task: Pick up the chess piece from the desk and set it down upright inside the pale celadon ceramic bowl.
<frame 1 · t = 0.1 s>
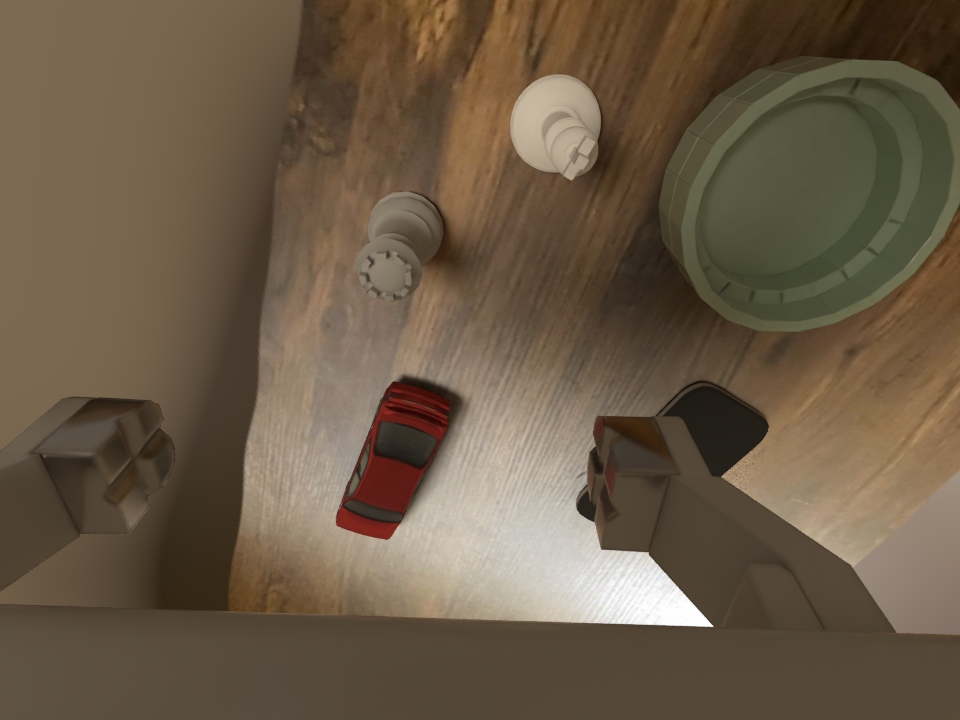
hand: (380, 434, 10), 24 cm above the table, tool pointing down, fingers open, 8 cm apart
rook chess piece: (407, 225, 33), on the table
chess piece: (554, 124, 30), on the table
bowl: (774, 189, 31), on the table
toy car: (393, 449, 42), on the table
smartphone: (664, 462, 42), on the table
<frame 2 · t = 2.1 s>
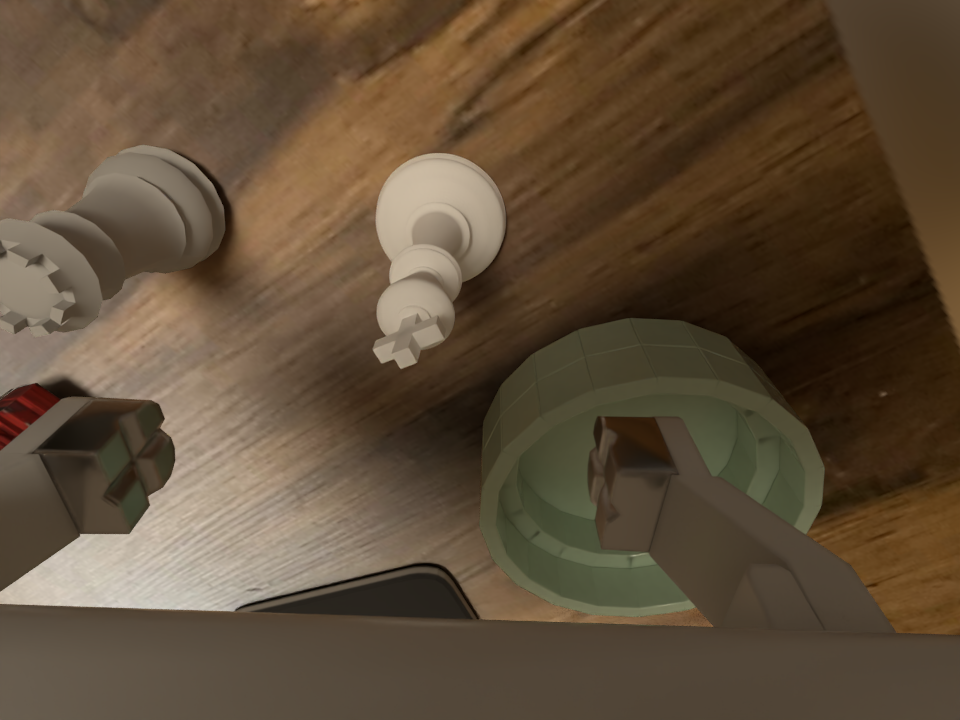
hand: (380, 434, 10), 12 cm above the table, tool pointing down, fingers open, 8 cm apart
rook chess piece: (173, 203, 21), on the table
chess piece: (441, 219, 21), on the table
bowl: (621, 436, 26), on the table
toy car: (6, 452, 28), on the table
smartphone: (355, 618, 34), on the table
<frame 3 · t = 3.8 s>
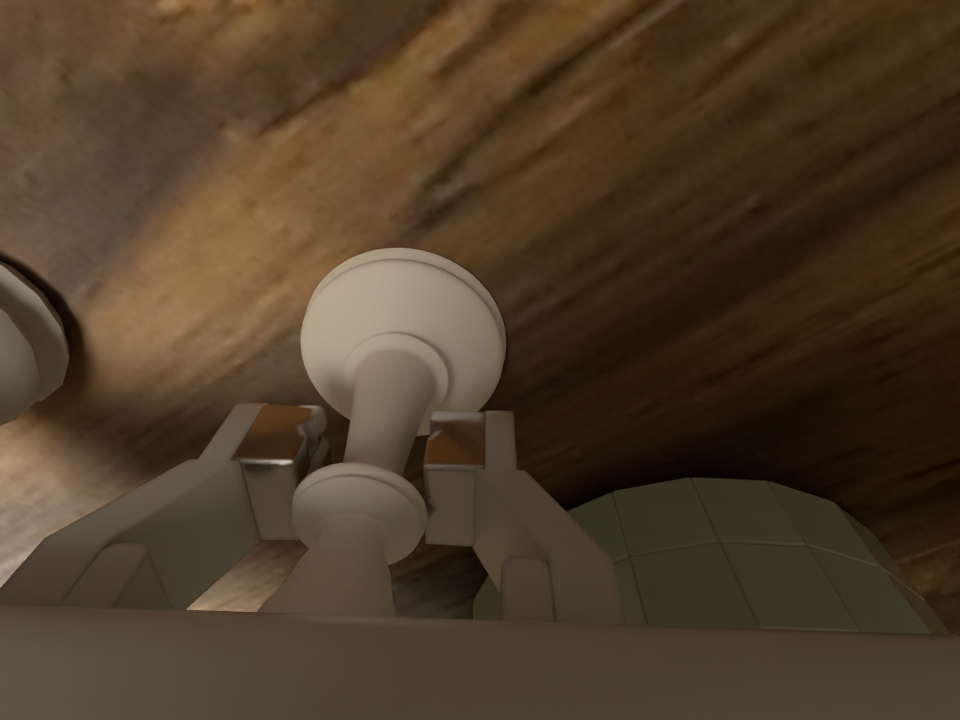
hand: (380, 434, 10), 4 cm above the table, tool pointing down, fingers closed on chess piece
chess piece: (407, 339, 13), on the table, touching gripper
bowl: (666, 609, 19), on the table
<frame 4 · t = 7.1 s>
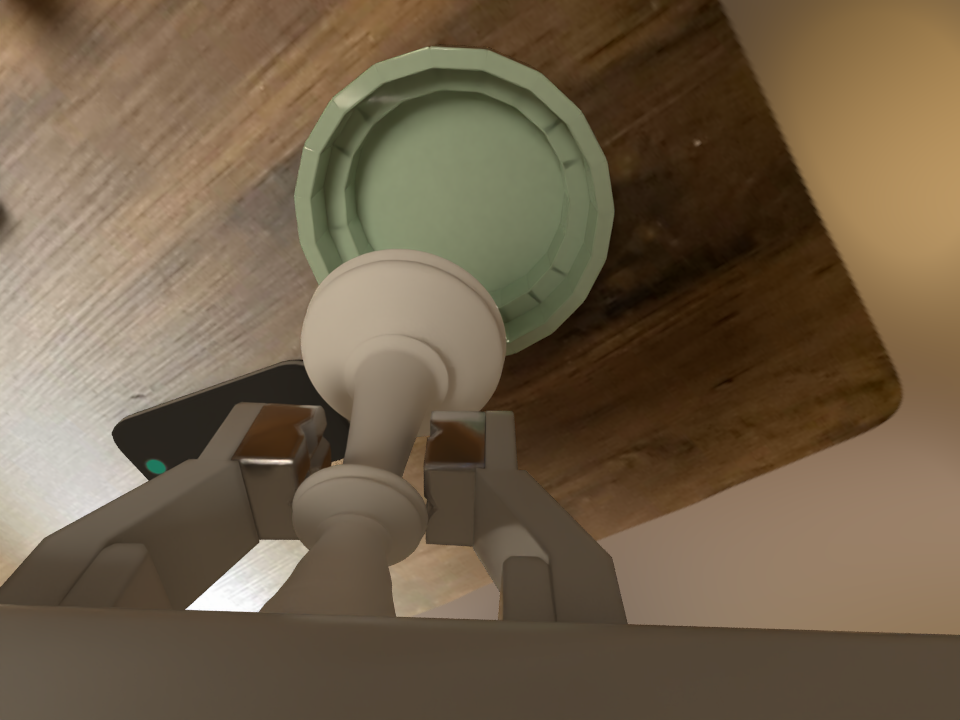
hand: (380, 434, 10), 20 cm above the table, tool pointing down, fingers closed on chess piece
chess piece: (407, 340, 14), point 16 cm above the table, touching gripper
bowl: (459, 198, 27), on the table
smartphone: (240, 431, 35), on the table
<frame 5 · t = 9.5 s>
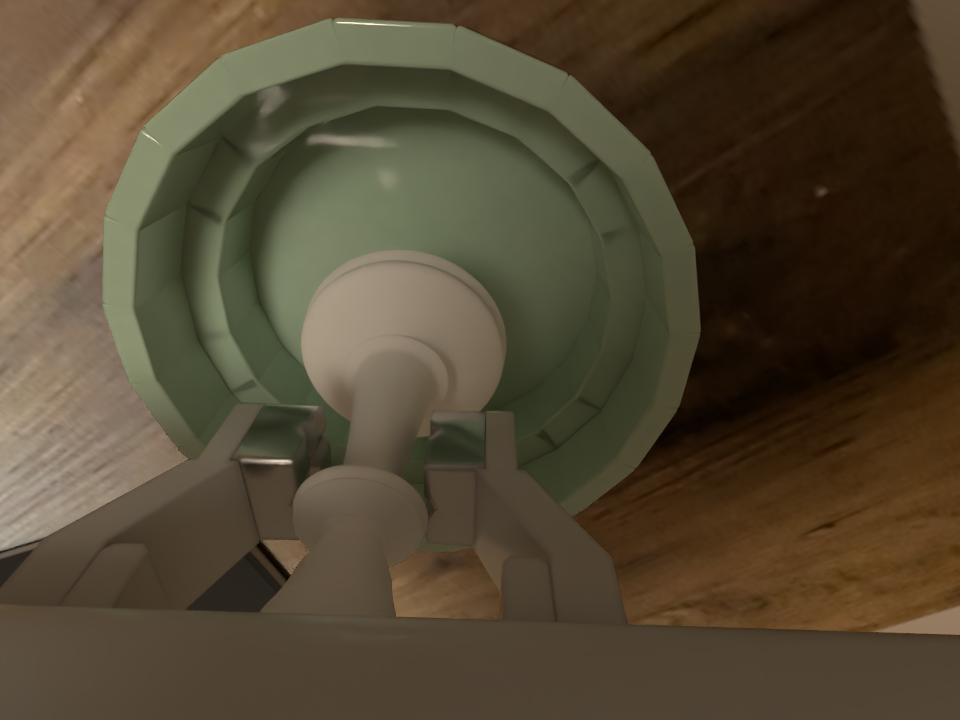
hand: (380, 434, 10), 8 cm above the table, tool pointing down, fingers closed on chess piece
chess piece: (407, 340, 14), point 4 cm above the table, touching gripper
bowl: (426, 276, 17), on the table
smartphone: (125, 581, 25), on the table
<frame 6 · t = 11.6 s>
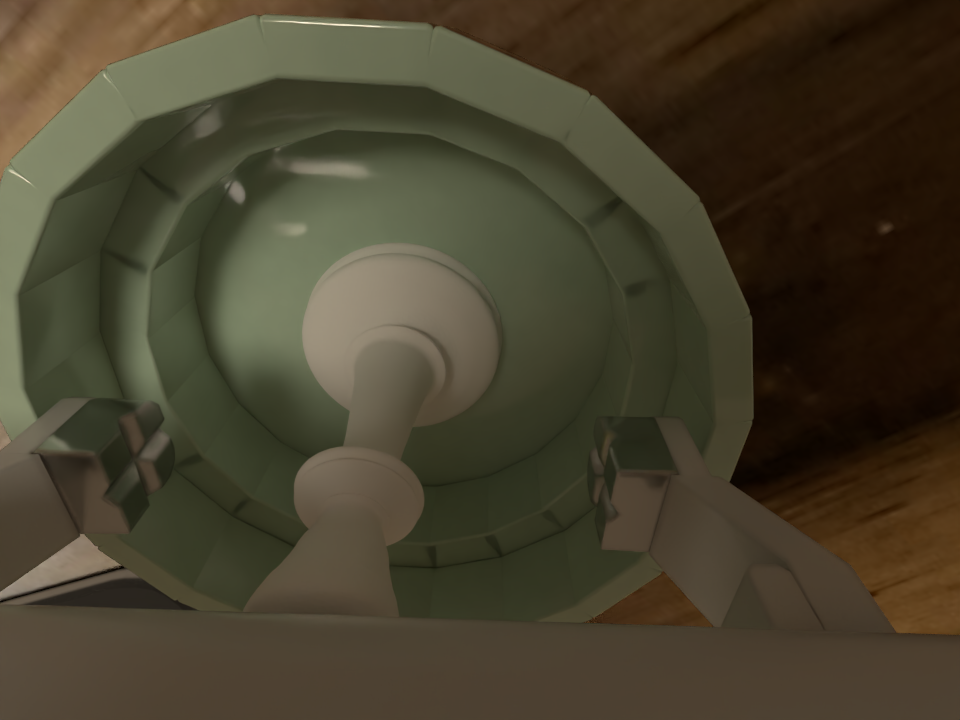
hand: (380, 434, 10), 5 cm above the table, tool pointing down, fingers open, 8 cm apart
chess piece: (405, 332, 14), resting on bowl
bowl: (408, 324, 14), on the table
smartphone: (76, 649, 22), on the table
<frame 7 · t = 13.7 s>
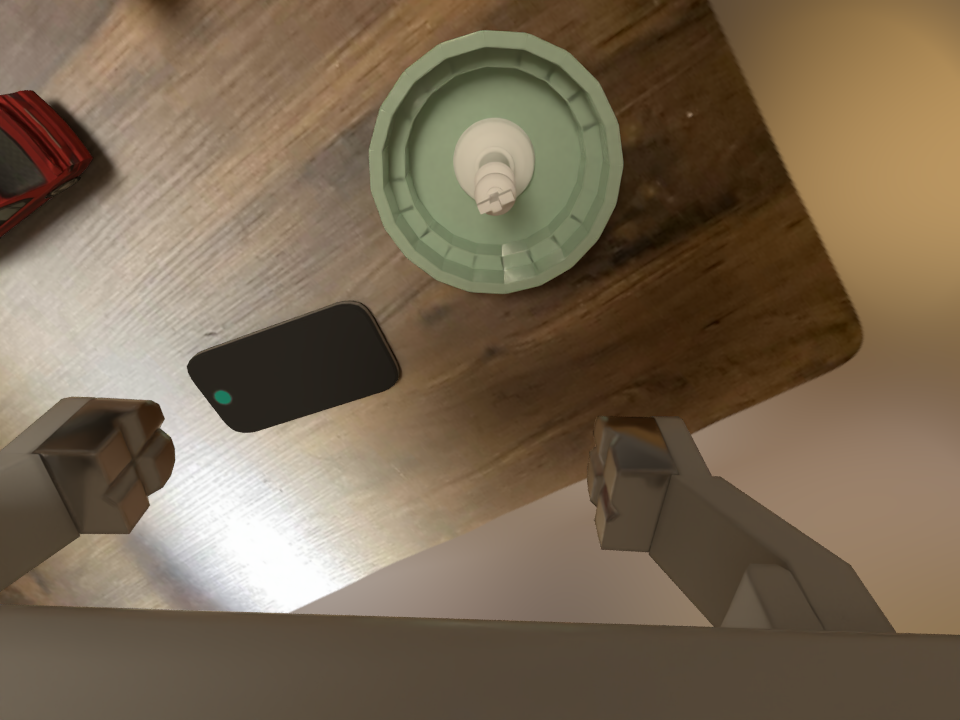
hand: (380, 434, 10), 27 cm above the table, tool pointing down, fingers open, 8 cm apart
chess piece: (493, 161, 33), resting on bowl
bowl: (494, 159, 33), on the table
toy car: (6, 182, 34), on the table
smartphone: (296, 366, 41), on the table
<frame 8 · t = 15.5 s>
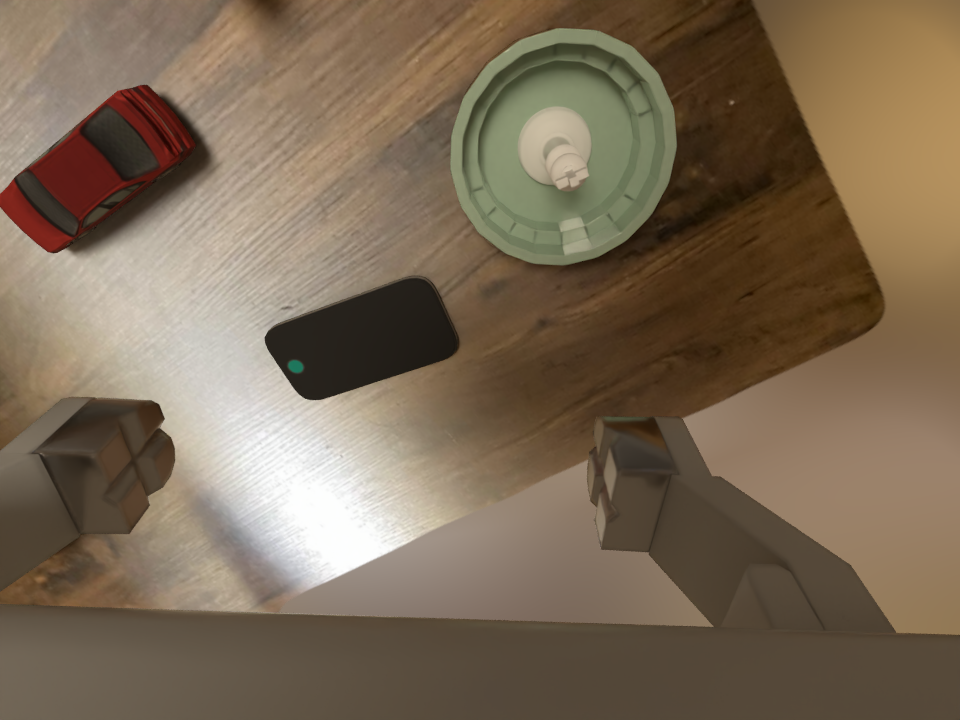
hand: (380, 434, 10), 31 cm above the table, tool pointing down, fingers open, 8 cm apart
chess piece: (553, 146, 36), resting on bowl
bowl: (553, 144, 37), on the table
toy car: (112, 168, 38), on the table
smartphone: (363, 338, 45), on the table
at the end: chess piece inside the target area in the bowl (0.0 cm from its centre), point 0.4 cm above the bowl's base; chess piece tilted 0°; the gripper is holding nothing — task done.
